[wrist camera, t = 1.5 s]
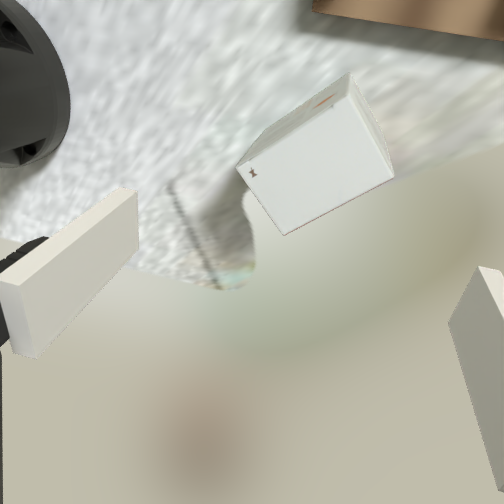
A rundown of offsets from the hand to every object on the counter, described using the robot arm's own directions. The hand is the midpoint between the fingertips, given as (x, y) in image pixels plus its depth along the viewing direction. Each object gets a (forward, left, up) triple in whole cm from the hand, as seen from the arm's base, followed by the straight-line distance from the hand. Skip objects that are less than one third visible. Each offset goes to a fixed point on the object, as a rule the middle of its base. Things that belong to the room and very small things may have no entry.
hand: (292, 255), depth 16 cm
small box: (0, 0, -20) cm, 20 cm away
